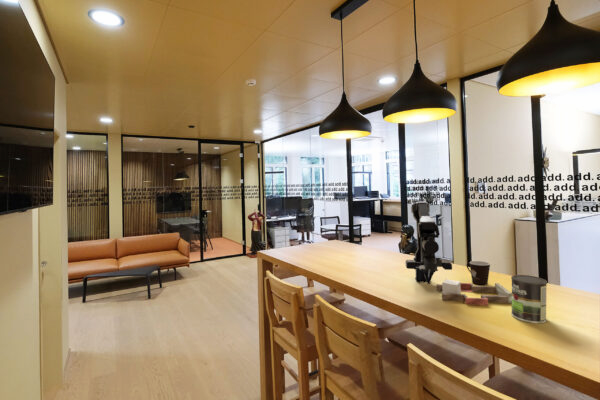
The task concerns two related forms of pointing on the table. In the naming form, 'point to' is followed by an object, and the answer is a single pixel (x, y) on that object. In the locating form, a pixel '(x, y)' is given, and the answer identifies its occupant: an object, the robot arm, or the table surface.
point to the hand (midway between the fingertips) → (428, 283)
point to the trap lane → (469, 287)
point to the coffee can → (529, 298)
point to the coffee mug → (479, 272)
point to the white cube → (451, 287)
